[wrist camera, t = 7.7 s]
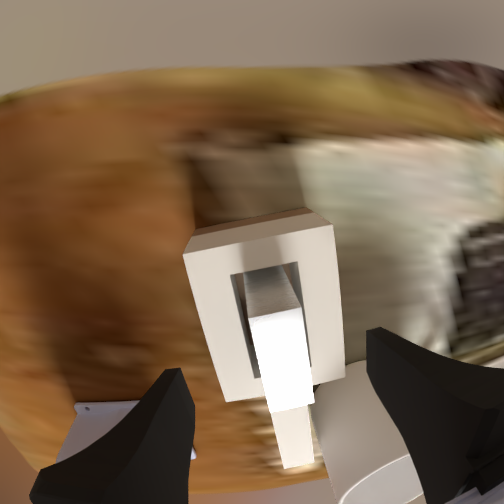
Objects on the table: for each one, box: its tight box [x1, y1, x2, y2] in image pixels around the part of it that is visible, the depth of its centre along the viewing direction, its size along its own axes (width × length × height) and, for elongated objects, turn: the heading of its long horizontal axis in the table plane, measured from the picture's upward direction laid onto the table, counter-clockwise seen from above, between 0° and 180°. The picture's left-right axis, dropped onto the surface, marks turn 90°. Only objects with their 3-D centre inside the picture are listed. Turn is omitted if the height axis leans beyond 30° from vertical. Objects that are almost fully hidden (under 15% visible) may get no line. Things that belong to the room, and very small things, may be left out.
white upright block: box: [243, 265, 314, 412], centre depth 16 cm, size 2×5×7 cm, turn 11°
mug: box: [310, 360, 424, 504], centre depth 20 cm, size 12×8×10 cm
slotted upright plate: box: [183, 207, 345, 469], centre depth 20 cm, size 7×18×6 cm, turn 11°
